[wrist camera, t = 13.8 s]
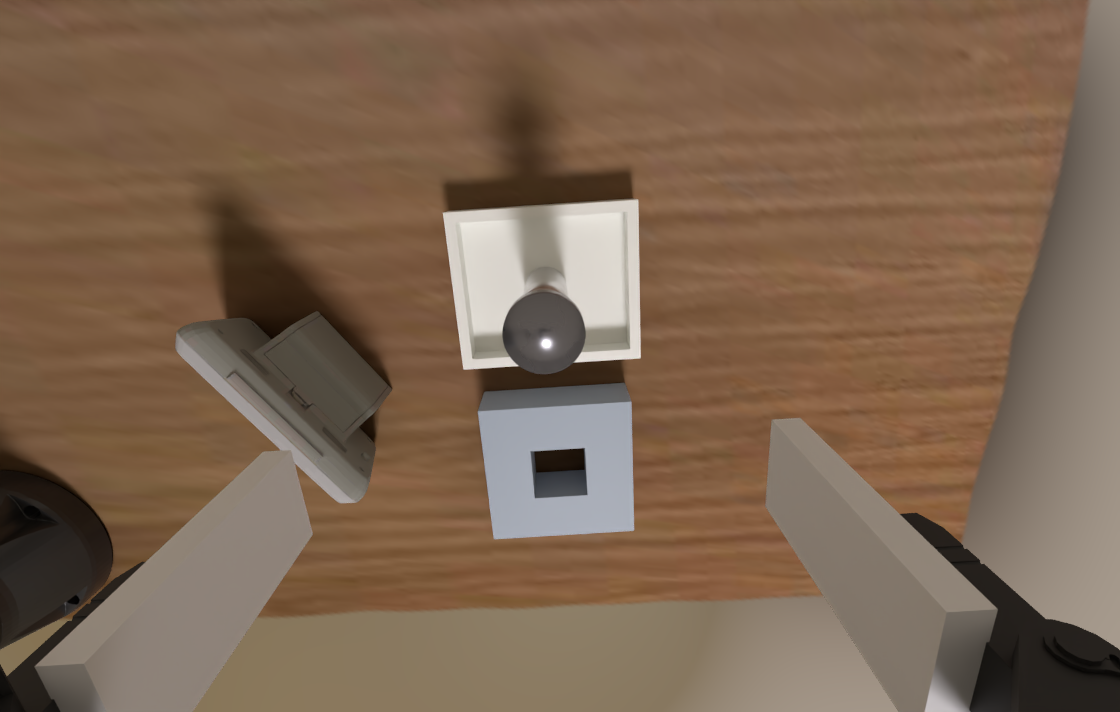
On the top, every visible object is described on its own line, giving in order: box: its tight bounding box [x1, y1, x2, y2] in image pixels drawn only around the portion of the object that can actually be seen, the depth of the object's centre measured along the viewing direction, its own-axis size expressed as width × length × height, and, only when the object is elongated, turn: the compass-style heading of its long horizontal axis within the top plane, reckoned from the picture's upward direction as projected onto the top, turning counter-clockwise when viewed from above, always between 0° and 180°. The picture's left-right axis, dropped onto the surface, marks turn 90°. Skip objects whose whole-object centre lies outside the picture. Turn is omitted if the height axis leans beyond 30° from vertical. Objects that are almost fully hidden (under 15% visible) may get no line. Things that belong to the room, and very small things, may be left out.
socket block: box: [478, 383, 634, 539], centre depth 44 cm, size 12×12×4 cm
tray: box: [443, 198, 641, 370], centre depth 40 cm, size 14×12×2 cm
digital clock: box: [175, 311, 392, 503], centre depth 39 cm, size 16×9×11 cm, turn 26°
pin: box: [502, 266, 586, 374], centre depth 34 cm, size 4×4×14 cm
